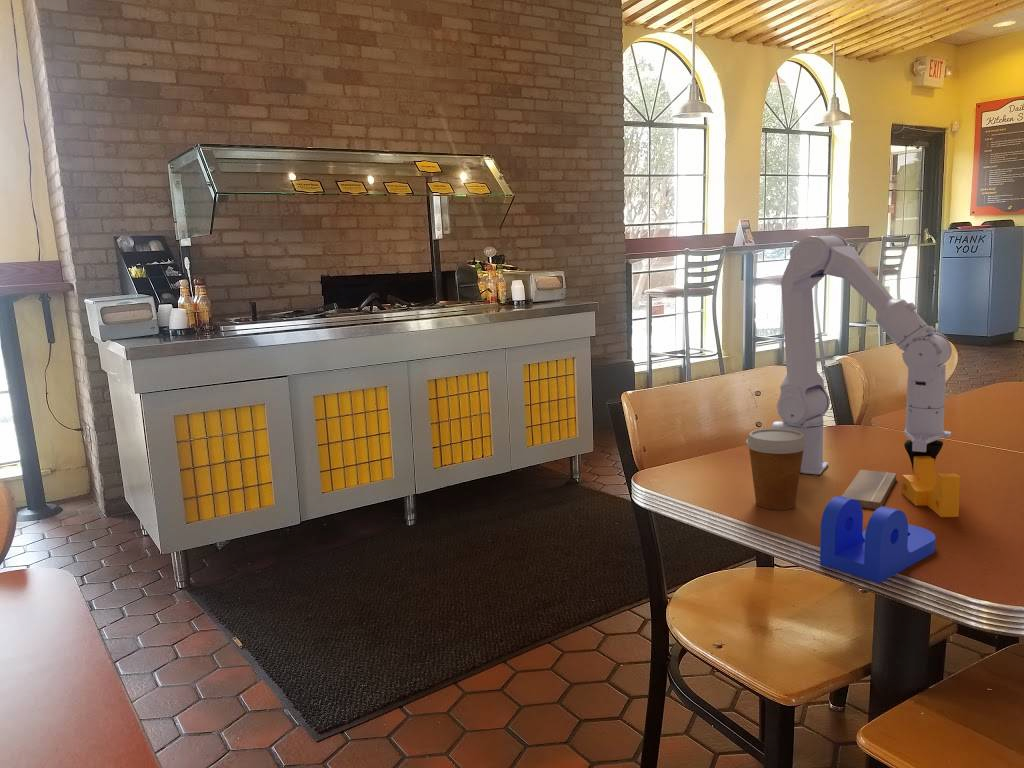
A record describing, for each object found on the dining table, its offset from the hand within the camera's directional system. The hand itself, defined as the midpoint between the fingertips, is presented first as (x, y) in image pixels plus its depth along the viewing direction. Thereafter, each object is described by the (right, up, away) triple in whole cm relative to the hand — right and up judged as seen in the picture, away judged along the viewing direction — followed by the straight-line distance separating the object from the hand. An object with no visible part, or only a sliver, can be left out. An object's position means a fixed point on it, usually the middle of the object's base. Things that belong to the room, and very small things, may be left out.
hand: (922, 482), depth 136 cm
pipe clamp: (-3, -3, -8) cm, 9 cm away
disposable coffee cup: (-27, -3, -4) cm, 27 cm away
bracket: (-19, -7, -27) cm, 34 cm away
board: (-9, -2, 0) cm, 9 cm away
